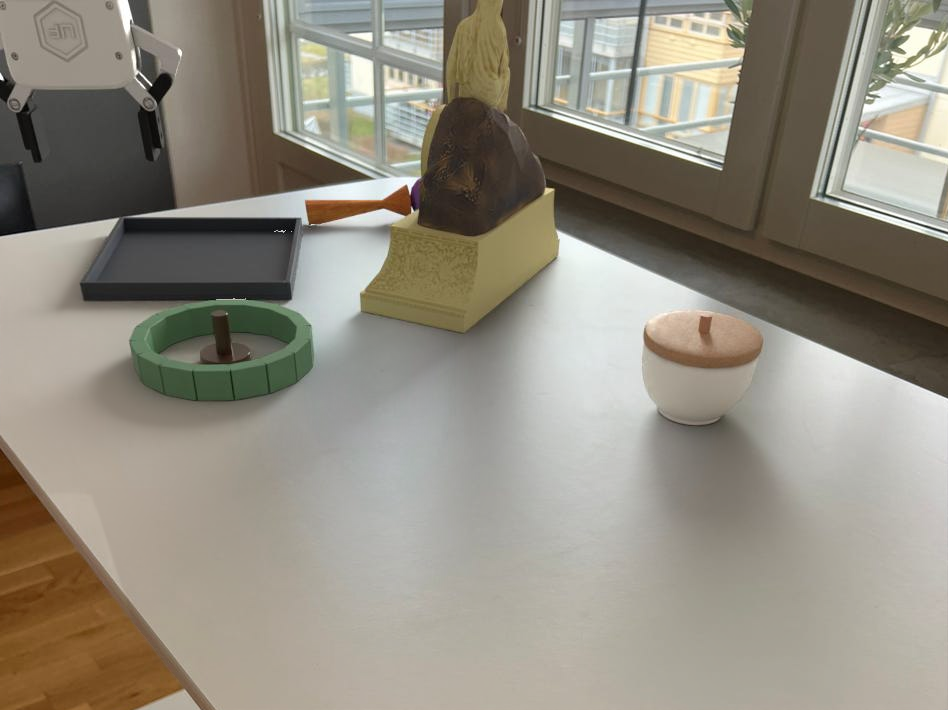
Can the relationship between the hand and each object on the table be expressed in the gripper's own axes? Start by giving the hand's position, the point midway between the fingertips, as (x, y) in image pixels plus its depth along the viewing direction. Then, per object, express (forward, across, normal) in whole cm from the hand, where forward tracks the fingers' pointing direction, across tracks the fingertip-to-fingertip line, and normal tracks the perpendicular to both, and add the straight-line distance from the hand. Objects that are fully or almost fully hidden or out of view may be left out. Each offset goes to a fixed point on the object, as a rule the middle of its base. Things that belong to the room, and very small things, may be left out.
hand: (98, 158), depth 88 cm
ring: (+19, +8, -1) cm, 21 cm away
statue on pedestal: (+20, +34, +21) cm, 45 cm away
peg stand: (+19, +8, -1) cm, 21 cm away
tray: (+19, +2, +27) cm, 33 cm away
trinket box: (+20, +53, -13) cm, 58 cm away
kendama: (+19, +24, +43) cm, 53 cm away
